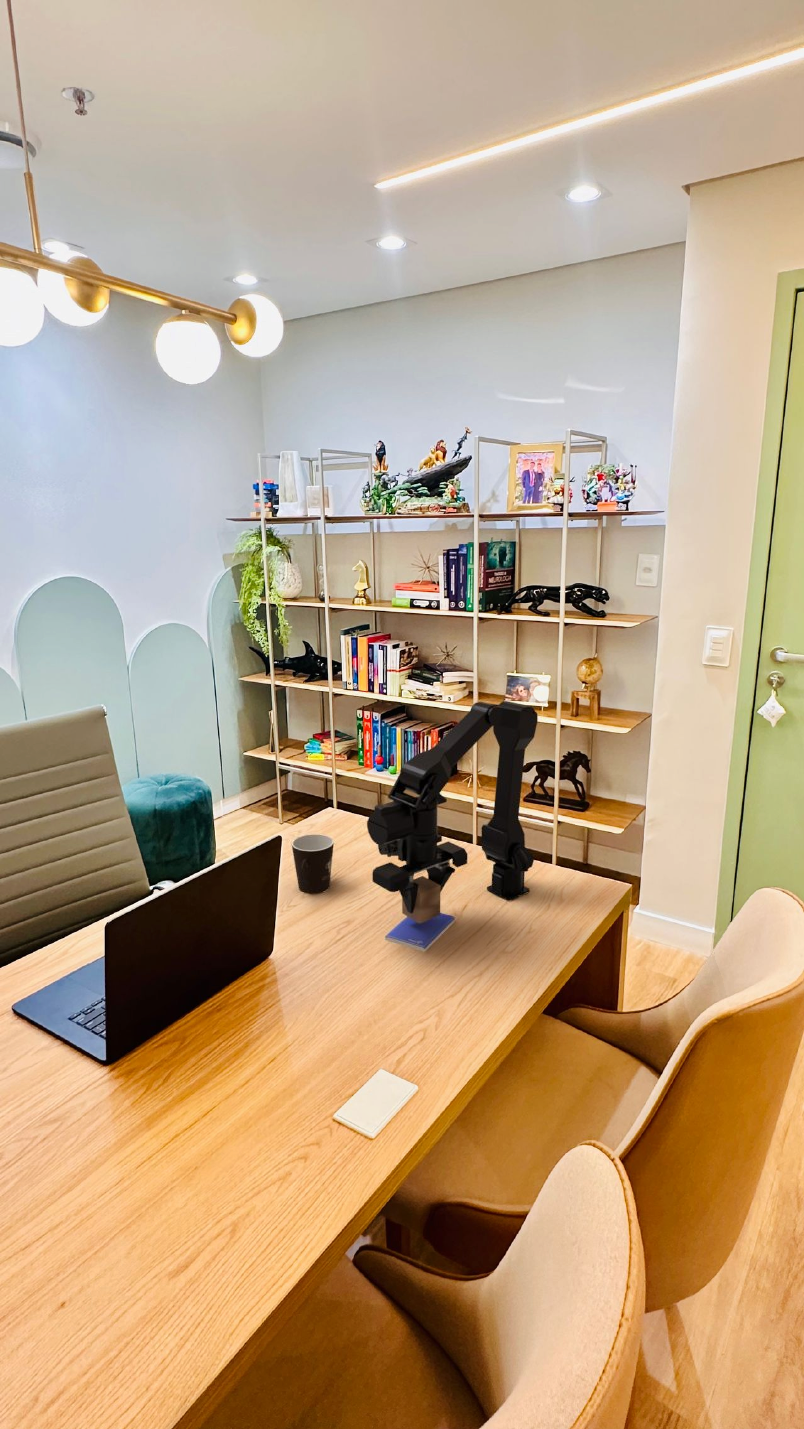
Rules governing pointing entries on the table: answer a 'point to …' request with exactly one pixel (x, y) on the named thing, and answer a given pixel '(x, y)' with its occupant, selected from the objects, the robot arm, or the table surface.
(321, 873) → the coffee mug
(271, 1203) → the table surface
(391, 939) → the hard drive
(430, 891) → the walnut block
